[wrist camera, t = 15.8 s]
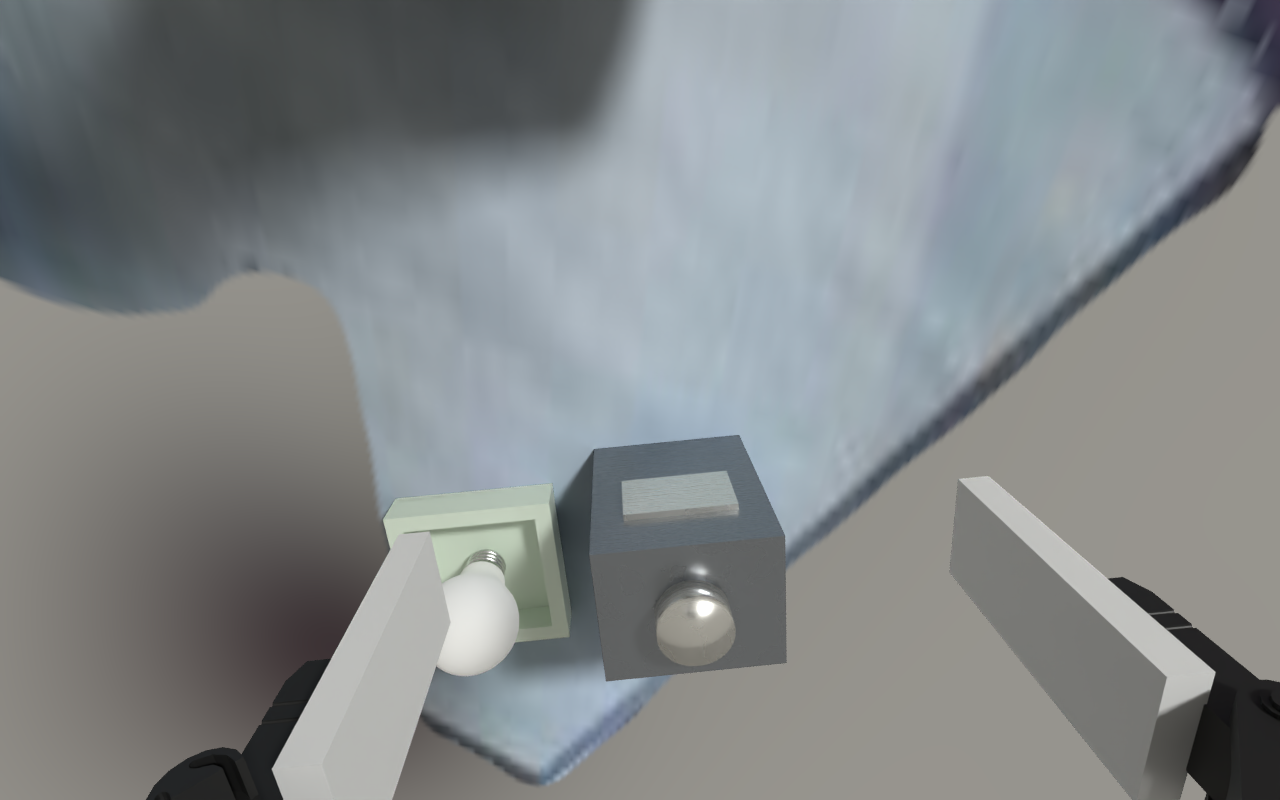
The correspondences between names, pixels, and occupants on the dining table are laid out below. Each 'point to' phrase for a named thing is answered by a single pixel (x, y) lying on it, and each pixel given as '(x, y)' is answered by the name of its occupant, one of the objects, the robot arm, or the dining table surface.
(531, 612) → the tray
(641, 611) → the housing
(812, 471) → the dining table surface
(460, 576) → the light bulb
